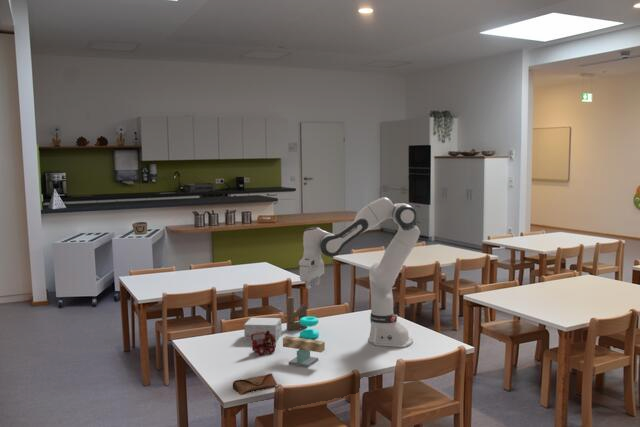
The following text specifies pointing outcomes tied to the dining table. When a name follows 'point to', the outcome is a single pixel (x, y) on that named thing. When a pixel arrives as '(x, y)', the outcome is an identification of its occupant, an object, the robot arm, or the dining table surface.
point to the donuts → (309, 322)
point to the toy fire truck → (263, 343)
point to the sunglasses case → (254, 384)
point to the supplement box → (263, 327)
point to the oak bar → (304, 344)
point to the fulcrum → (303, 359)
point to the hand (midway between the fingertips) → (312, 286)
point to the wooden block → (295, 314)
